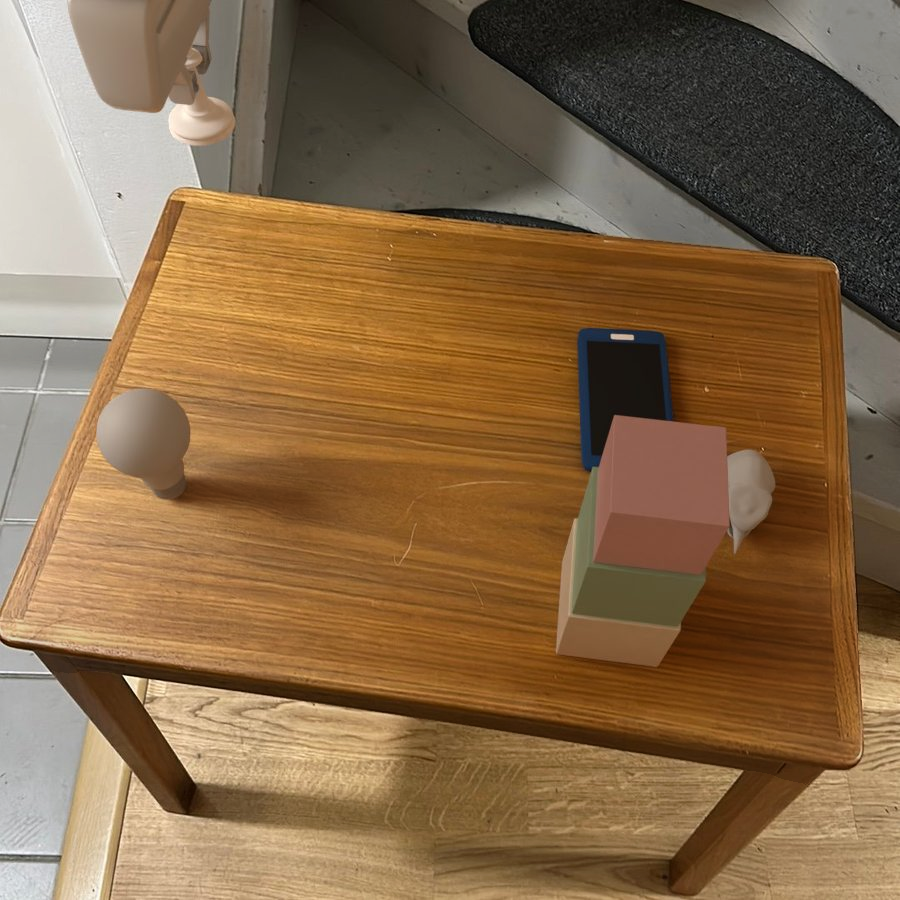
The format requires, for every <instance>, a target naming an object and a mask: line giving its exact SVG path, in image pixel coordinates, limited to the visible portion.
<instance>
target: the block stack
mask: <svg viewBox="0 0 900 900" xmlns="http://www.w3.org/2000/svg"><path fill="white" fill-rule="evenodd" d="M727 436H728V435H727V427H724V426H715V425H706V424H700V423H699V424H698V423H697V424H696V423H689V422H681V421H674V422H672V421H663V420H655V419H646V418H637V417H628V416H619V415H614V418H613V421H612V424H611V428H610V431H609V435H608V438H607V441H606V445H605V448H604V451H603V455H602V458H601V462H600V465H599V467H592V471H591V472H590V474H589V479H588V482H587V485H586V489H585V492H584V496H583V499H582V503H581V505H580V509H579V512H578V516H577V517H575V518H573V522H572V526H571V530H570V533H569V536H568V540H567V542H566V547H565V549H564V550H565V551H564V554H563V558H562V560H561V568H560V569H561V572H560V583H559V584H560V585H559V598H558V599H559V600H558V612H557V613H558V615H557V627H556V641H555V643H556V644H555V654H556V655H559V656H568V657H573V658H574V657H575V658H584V659H591V660H598V661H606V662H607V661H608V662H614V663H620V664H621V663H622V664H629V665H630V664H631V665H636V666H637V665H638V666H644V667H645V666H646V667H654V668H658V667H659V665H660V664H661V662H662V661H663V659H664V658H665V656H666V654H667V653H668V651H669V649H670V648H671V647H672V645H673V643H674V642H675V640H676V638H677V637H678V635H679V634H680V632H681V630H682V626H681V625H682V621H683V619H684V618H685V616H686V614H687V612H688V611H689V610H690V607H691V606H692V604H693V603H694V601H695V599H696V598H697V596H698V594H699V593H700V591H701V590H702V588H703V587H704V585H705V584H706V582H707V569H706V568H707V565H708V563H709V562H710V560H711V558H712V557H713V555H714V553H715V552H716V550H717V549H718V547H719V545H720V544H721V542H722V540H723V538H724V537H725V535H726V533H727V530H728V528H729V527H730V518H729V491H728V464H727V456H728V440H727Z"/></svg>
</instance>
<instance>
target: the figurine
mask: <svg viewBox="0 0 900 900" xmlns="http://www.w3.org/2000/svg"><path fill="white" fill-rule="evenodd" d="M727 464H728V491H729V518H730V527H729V528H728V530H727V532H726V533H727V535H728V536H729V537H730V538H732V539H733V555H736V554H737V552H738V551H739V548H740V546H741V543H742V541H743V539H744V538H745V537H747V536H748V535H749V534H750V533H751V531H752V530H754V529H755V528H757V526H758V525H760V523H761V522H763V521H764V520H765V519H766V518H767V516H768V515H769V511H770V508H771V506H772V503H773V497H772V493H773V492H774V491H775V489H776V478H775V476H774V473H773V471H772V468H771V466H770V464H769V463H768V462H767V460H766V458H765V457H764V456H763V455H762V454H761V453H760V452H759V451H757V450H754V449H750V448H749V449H742V450H739V451H736V452H733V453H731V454H729V455H727Z"/></svg>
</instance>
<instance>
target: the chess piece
mask: <svg viewBox="0 0 900 900" xmlns="http://www.w3.org/2000/svg"><path fill="white" fill-rule="evenodd" d="M192 47H193V43H192V45H191V47H190V50H189V52H188V54H187V61H186V64H185V66H186V68H187V70H188V71H195V73H196V77H197V84H198V86H199V90H198V93H197V95H196V98H195V100H194V103H193V104H192V105H184V104H175V105H174V107H173V108H172V110H171V111H170V112H169V115H168V119H167V120H168V129H169V132H170V135H171V136H172V137H173V138H174V139H175V140H176V141H178V142H180V143H182V144H184V145H188V146H193V147H204V146H210V145H211V146H212V145H214V144H218V143H219V142H222V141H223V140H225V139H226V138H228V137H229V136H230V135H231V134H232V133H233V131H234V129H235V128H236V127H235V126H236V117H235V115H234V113H233V110H232V108H231V106H229V104H227V103H226V102H225V101H224V100H222V99H219V98H217V97H212V96H208V95H207V93H206V91H205V88H204V85H203V83H202V81H201V78H200V74H198V72H197V69H196V66H198V65H199V64H200V63H201V61H202V55H201V54H200V52H199V51H198V50H196V49H194V48H192Z"/></svg>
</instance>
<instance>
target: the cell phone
mask: <svg viewBox="0 0 900 900" xmlns="http://www.w3.org/2000/svg"><path fill="white" fill-rule="evenodd" d="M576 346H577V347H576V348H577V373H578V375H577V376H578V403H579V430H580V454H581V455H580V456H581V457H580V458H581V465H582V467H583V470H584V471H587V472H589V473H591V471H592V467H599V465H600V462H601V458H602V455H603V451H604V448H605V445H606V441H607V438H608V435H609V431H610V428H611V424H612V421H613V418H614V415H619V416H628V417H637V418H646V419H655V420H663V421H672V422H675V421H674V413H673V411H674V410H673V400H672V390H671V383H670V382H671V379H670V370H669V359H668V350H667V341H666V337H665V334H664V333H663V332H661V331H657V330H650V329H649V330H647V329H624V328H603V327H601V328H600V327H583V328H581V329H580V330H579V331H578V334H577V342H576Z"/></svg>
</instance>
